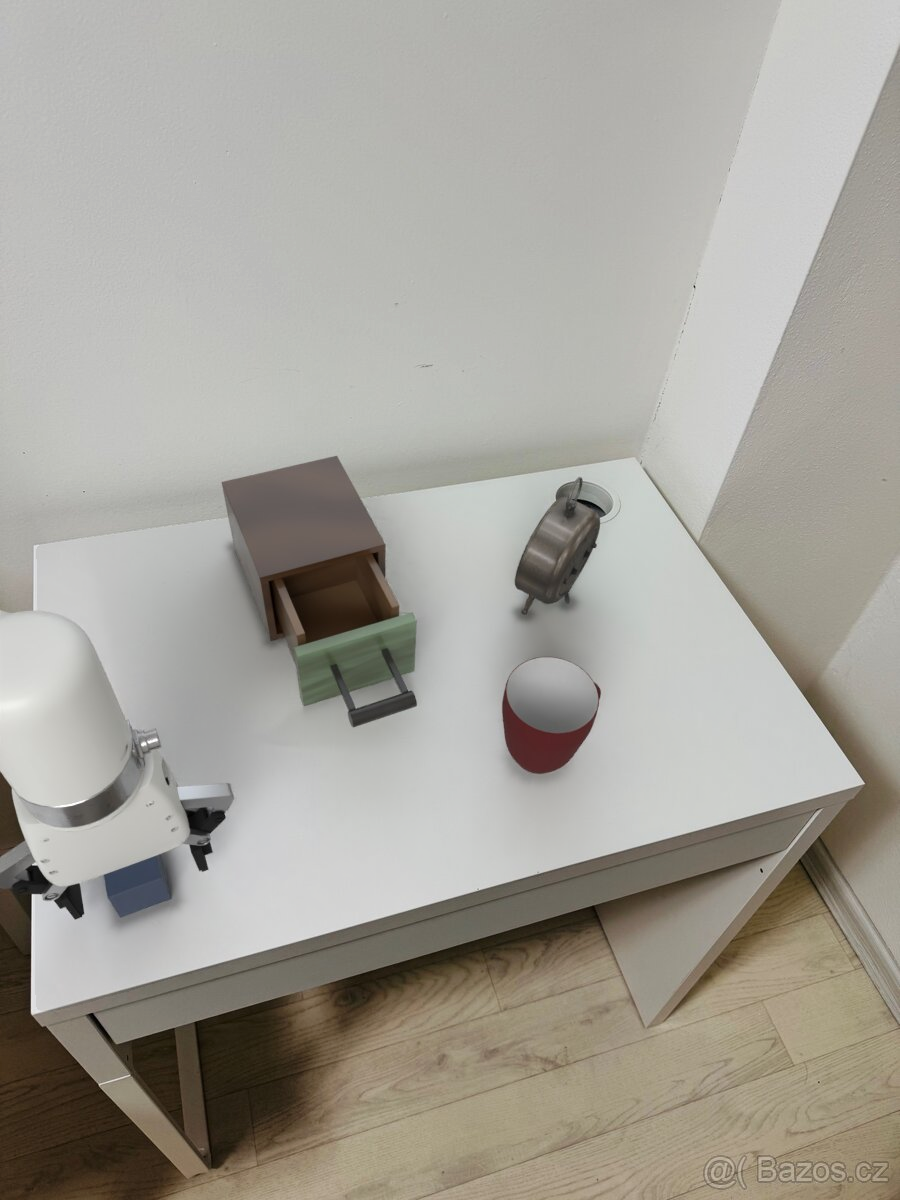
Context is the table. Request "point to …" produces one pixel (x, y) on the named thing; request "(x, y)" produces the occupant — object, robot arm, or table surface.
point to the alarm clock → (557, 550)
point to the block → (137, 886)
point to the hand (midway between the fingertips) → (140, 877)
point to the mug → (548, 712)
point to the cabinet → (296, 526)
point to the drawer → (346, 635)
